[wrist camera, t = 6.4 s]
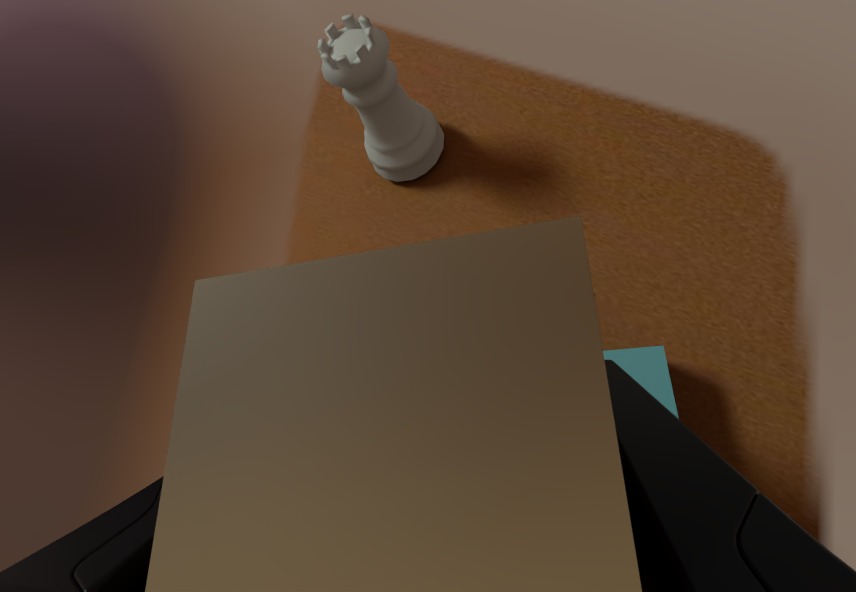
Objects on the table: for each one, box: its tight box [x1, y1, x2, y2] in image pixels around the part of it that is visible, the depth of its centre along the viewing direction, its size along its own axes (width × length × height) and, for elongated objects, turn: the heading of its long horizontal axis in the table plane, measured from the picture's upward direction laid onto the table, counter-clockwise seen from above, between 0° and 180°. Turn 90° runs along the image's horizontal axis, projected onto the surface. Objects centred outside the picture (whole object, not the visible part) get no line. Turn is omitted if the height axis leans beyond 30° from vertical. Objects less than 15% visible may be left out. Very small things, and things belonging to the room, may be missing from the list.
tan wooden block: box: [145, 216, 642, 592], centre depth 9 cm, size 5×5×11 cm
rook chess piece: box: [317, 14, 444, 182], centre depth 22 cm, size 4×4×8 cm
